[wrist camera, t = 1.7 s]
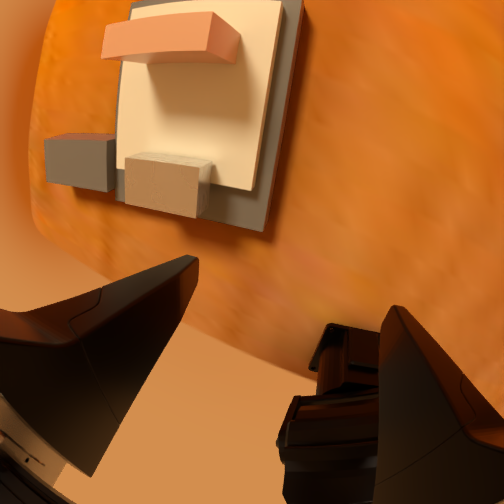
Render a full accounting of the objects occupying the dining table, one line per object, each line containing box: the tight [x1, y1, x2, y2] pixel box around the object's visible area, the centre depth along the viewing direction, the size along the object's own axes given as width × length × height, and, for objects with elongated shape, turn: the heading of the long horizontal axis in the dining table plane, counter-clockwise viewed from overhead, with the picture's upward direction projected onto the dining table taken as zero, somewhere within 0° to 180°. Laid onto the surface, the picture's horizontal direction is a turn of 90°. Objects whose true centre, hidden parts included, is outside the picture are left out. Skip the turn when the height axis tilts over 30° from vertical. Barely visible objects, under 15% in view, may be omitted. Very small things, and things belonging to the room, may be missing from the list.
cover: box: [101, 0, 284, 191], centre depth 13 cm, size 12×10×6 cm
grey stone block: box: [125, 152, 213, 219], centre depth 17 cm, size 3×5×2 cm, turn 82°
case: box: [44, 0, 305, 232], centre depth 17 cm, size 16×20×3 cm
